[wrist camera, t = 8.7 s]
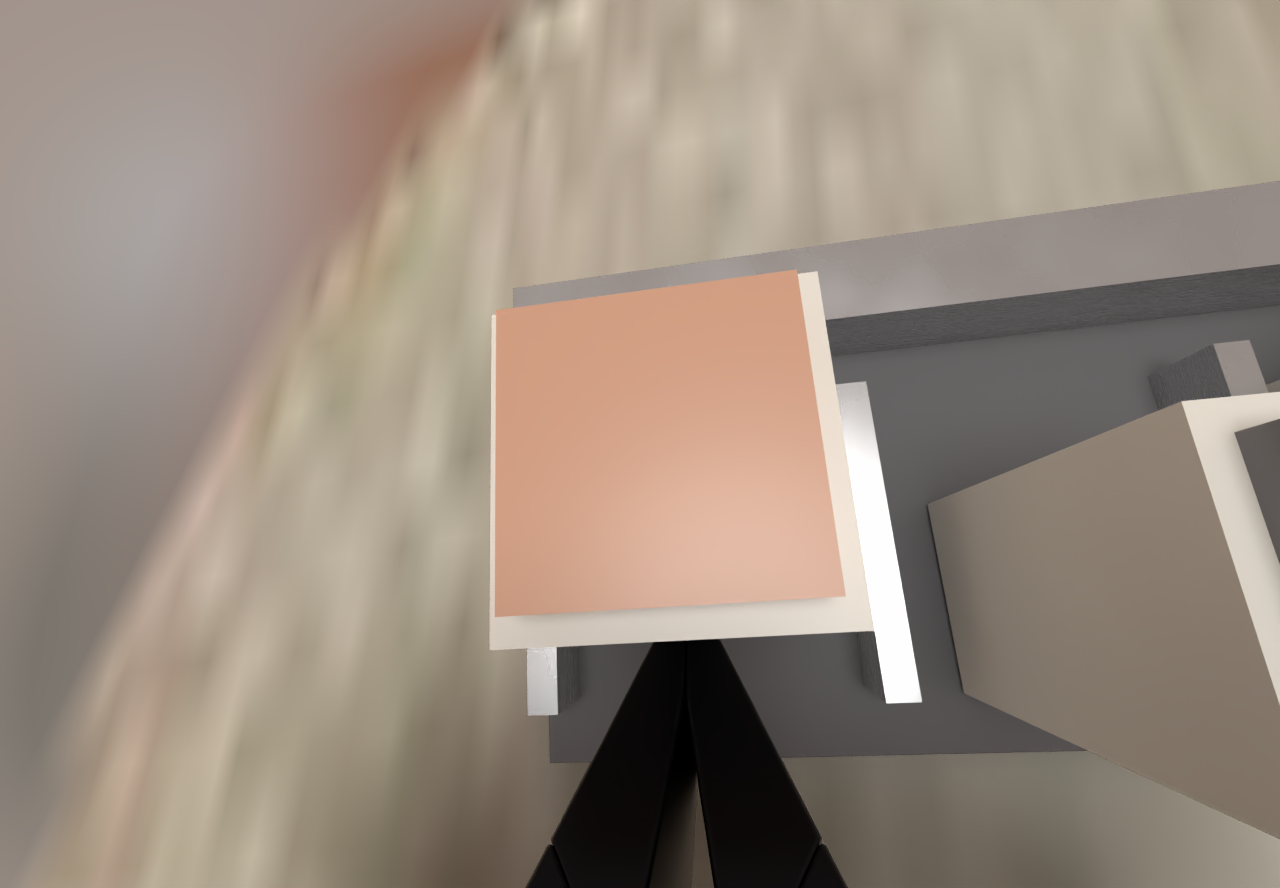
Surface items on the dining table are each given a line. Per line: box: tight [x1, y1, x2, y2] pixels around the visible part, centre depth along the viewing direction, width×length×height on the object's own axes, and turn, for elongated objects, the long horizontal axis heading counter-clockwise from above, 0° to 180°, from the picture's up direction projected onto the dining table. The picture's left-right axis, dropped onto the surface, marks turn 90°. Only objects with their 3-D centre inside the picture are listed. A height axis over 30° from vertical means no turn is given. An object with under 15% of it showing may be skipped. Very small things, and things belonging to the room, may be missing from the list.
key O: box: [490, 270, 875, 650], centre depth 10 cm, size 4×4×9 cm
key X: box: [928, 392, 1280, 839], centre depth 9 cm, size 4×4×9 cm
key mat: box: [549, 305, 1280, 763], centre depth 14 cm, size 12×24×1 cm, turn 94°
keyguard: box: [513, 181, 1280, 716], centre depth 13 cm, size 10×24×2 cm, turn 94°
